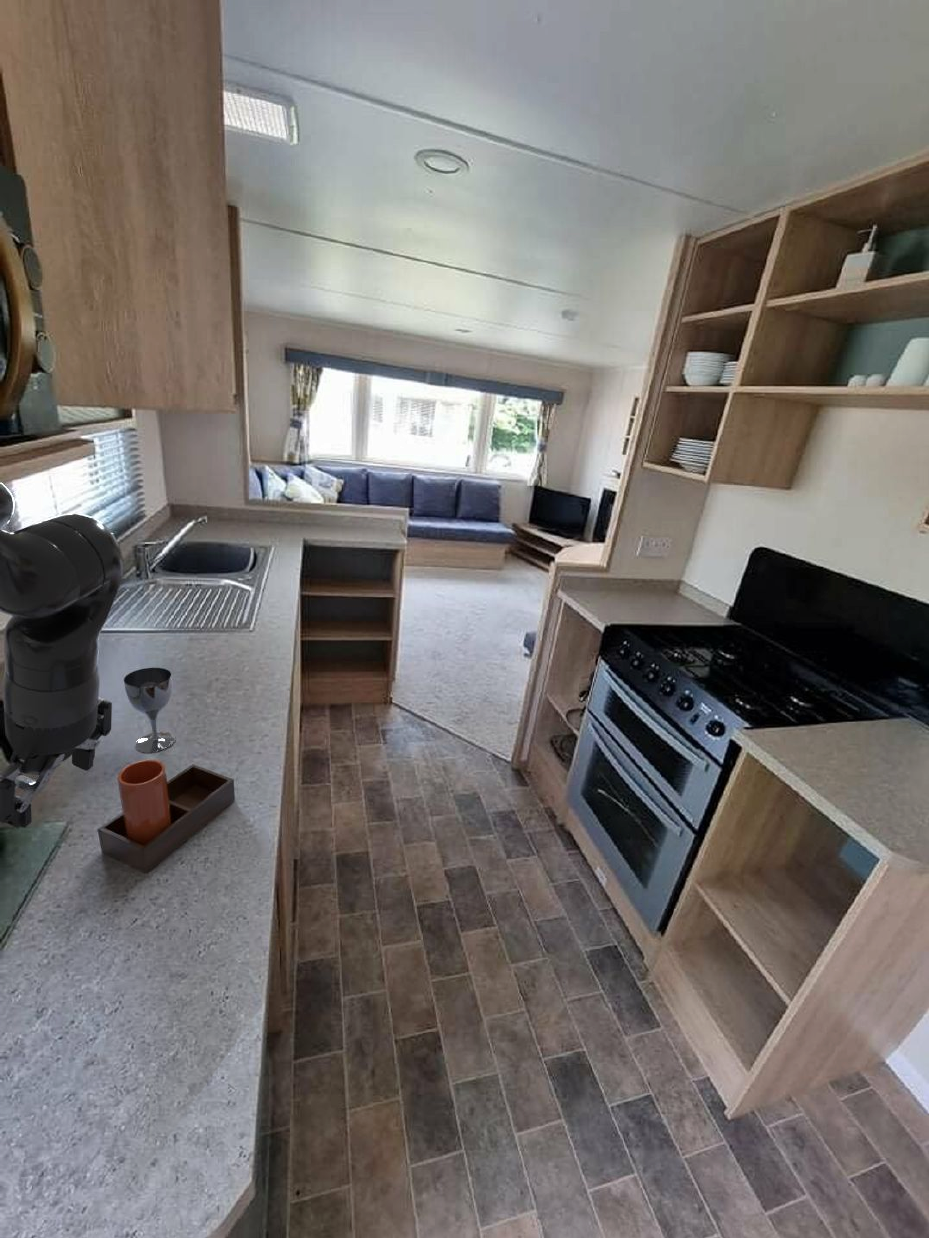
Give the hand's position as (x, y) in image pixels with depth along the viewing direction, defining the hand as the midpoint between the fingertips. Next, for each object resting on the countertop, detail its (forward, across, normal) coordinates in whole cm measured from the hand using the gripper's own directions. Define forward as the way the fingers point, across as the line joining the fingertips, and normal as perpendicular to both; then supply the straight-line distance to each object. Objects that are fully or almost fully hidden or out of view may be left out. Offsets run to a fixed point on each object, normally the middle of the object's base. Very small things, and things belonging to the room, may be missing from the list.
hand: (52, 792), depth 60 cm
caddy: (+24, -15, +7) cm, 29 cm away
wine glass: (+32, -34, -8) cm, 47 cm away
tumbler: (+22, -11, +6) cm, 26 cm away
